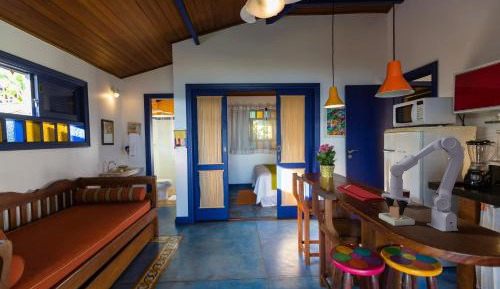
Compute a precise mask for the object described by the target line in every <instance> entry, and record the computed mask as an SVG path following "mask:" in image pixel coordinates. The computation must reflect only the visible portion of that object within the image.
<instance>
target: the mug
mask: <svg viewBox="0 0 500 289" xmlns="http://www.w3.org/2000/svg"><path fill="white" fill-rule="evenodd" d="M403 197H407V198H410V197H411V190H409V189H405V188H403ZM395 202H396V204H397V205H398V206H399V204H398V202H401V201H399V200H395Z"/></svg>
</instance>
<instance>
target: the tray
mask: <svg viewBox="0 0 500 289" xmlns="http://www.w3.org/2000/svg"><path fill="white" fill-rule="evenodd" d="M378 219H380V220H382V221H384V222H386V223H388V224H389V225H392V226H393V227H398V226H399V227H400V226H413V225H414V226H415V225H416V224H415V223H416V220H415V219H414V218H412V217H409V216H407V215H404V214H403V217H402V218H399V219H398V218H394V217H391V216H390V212H382V213H381V212H380V213H378Z"/></svg>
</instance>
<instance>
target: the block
mask: <svg viewBox="0 0 500 289" xmlns="http://www.w3.org/2000/svg"><path fill="white" fill-rule="evenodd" d="M389 213H390V216H391V217H394V218H398V219H399V218H402V217H403V215H404V214H403V215H399V206H397V205H394V204H393V206H390V212H389Z"/></svg>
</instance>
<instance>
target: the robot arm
mask: <svg viewBox="0 0 500 289" xmlns="http://www.w3.org/2000/svg"><path fill="white" fill-rule="evenodd" d="M443 150H444V151H445V152H446V153H447V155H448V156H449V159H448V161H447V165H446V167H445V171H444V172H443V176H442V177H441V178H442V179H441V181H440V184H439V187H438V188H437V189H436V192H435V193H434V194H433V195H432V196H431V202H432V204H433V205H432V206H431V218H430V219H431V222H429V223H428V222H427V223H426V225H427V226H429V227H431V228H434V229H436V230H439V231H441V232H452V231H453V232H454V231H455V232H456V231H459V229H458V228H457V225H458V224H457V223H458V222H457V221H458V217H457V215H456V214H455V212H453V211H451V208H452V202H451V200H452V191H453V188H454V186H455V184H456V181H457V178H458V175H459V172H460V170H461V168H462V165H463V162H464V159H465V153H464V150H463V147H462V144H461V141H459V140H458V138H456V137H455V136H451V135H443V136H441V137H439V138H437V139H435V140H433V141H431V142H430V143H429V144H427V145H426V146H424V147H422V148H421V149H420V150H419V151H417V152H416V153H414V154H408V155H404V156H403V158H402V159H401V160H399V161H396V162H395V164H393V165H391V166H390V169H389V172H390V178H389V193H384V192H382V193H381V197H382V198H384V199H385V201H384V202H385V203H386V205H387V208H388V213H390V206H394V204H395V201H396V200H399V201H401V202H398V204H399V215H404V212H405V209H406V207H407V205H409V204H412V203H413V198H410V197H409V198H407V197H403V189H404V178H403V175H404V174H405V172H407V171H409V170H410V169H413V167H415V166H417V165H418V164H419V160H421V159H422V158H424V157H426V156H427V155H429V154H430V153H432V152H434V151H443ZM398 204H397V205H398Z"/></svg>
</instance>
